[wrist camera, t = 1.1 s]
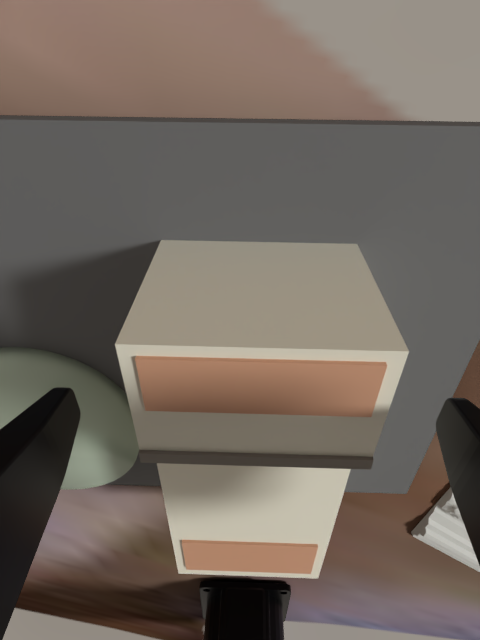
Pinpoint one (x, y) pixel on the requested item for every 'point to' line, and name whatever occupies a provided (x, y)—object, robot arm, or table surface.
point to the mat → (245, 235)
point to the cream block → (259, 356)
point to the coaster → (95, 407)
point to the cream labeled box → (251, 518)
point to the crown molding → (447, 531)
